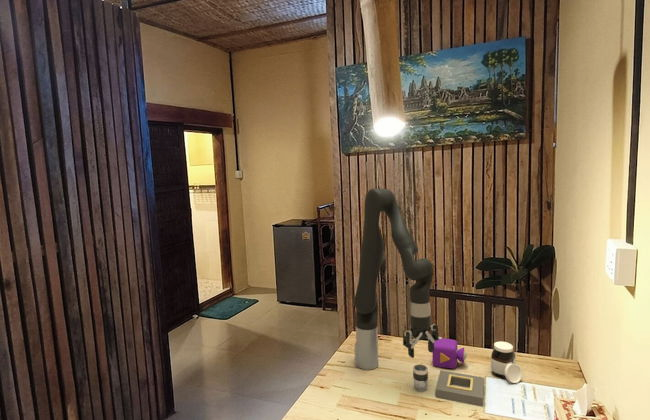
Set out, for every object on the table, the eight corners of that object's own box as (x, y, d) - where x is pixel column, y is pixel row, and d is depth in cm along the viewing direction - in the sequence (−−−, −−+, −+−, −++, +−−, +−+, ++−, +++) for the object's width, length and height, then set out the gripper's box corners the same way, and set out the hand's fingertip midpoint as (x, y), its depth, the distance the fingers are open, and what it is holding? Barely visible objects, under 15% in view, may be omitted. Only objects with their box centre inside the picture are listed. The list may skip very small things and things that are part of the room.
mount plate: (435, 397, 143) (435, 387, 143) (440, 377, 156) (440, 369, 156) (482, 406, 137) (482, 396, 137) (484, 385, 150) (484, 376, 149)
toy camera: (468, 371, 160) (468, 348, 158) (433, 369, 162) (433, 346, 161) (464, 358, 170) (464, 336, 169) (431, 356, 173) (431, 334, 172)
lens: (412, 390, 148) (411, 369, 147) (414, 382, 153) (414, 362, 152) (426, 393, 146) (426, 372, 145) (428, 385, 151) (428, 365, 150)
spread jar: (498, 365, 164) (498, 338, 162) (527, 374, 156) (528, 346, 154) (485, 376, 156) (486, 348, 154) (515, 387, 147) (516, 358, 146)
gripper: (409, 319, 140) (411, 363, 142) (442, 312, 145) (443, 354, 147) (398, 313, 147) (399, 354, 149) (429, 305, 152) (430, 346, 154)
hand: (421, 354), depth 148 cm, fingers open, 8 cm apart
